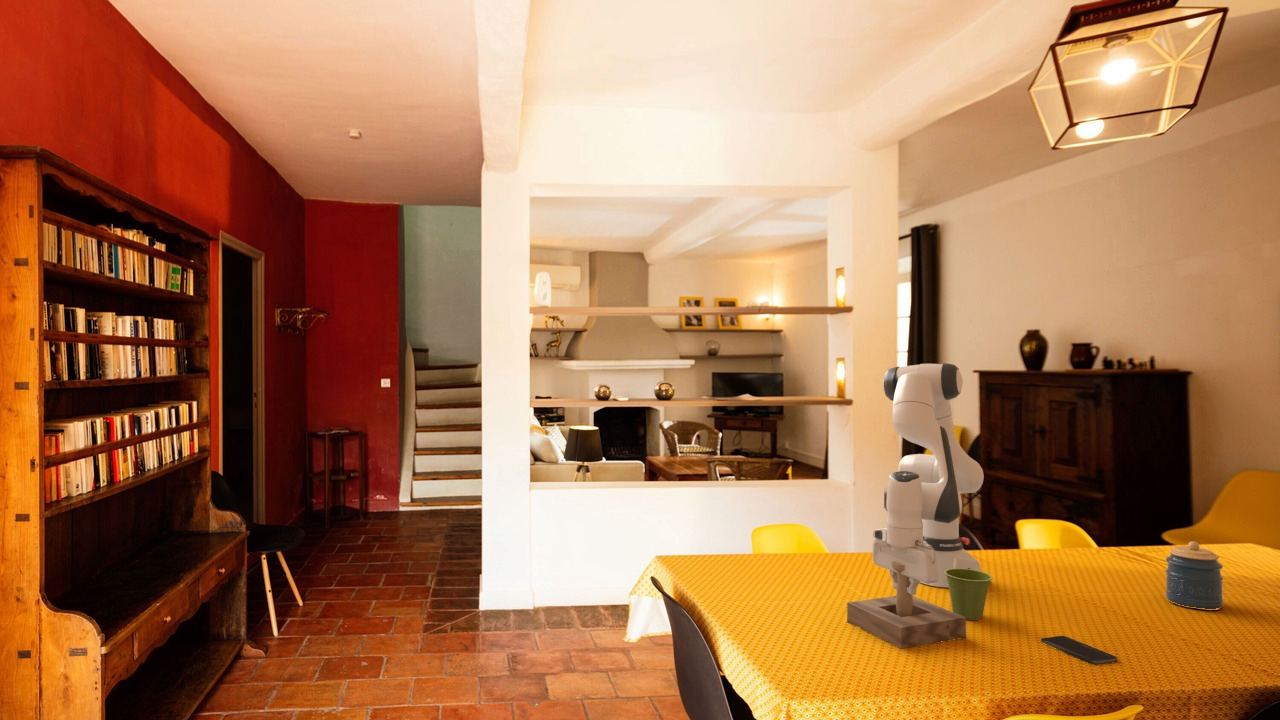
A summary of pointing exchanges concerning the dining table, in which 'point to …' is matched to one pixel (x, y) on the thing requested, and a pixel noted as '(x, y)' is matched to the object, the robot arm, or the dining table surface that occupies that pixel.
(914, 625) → the socket block
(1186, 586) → the canister
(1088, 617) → the dining table surface
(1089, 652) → the phone
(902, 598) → the handle
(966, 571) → the plant pot
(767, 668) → the dining table surface
